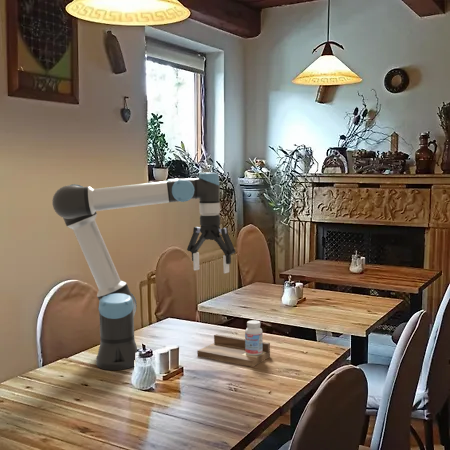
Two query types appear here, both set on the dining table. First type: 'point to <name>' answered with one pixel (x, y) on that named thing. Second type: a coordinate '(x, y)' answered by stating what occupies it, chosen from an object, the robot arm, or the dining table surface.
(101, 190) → the robot arm
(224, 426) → the dining table surface
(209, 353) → the wooden stand
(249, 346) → the pill bottle
